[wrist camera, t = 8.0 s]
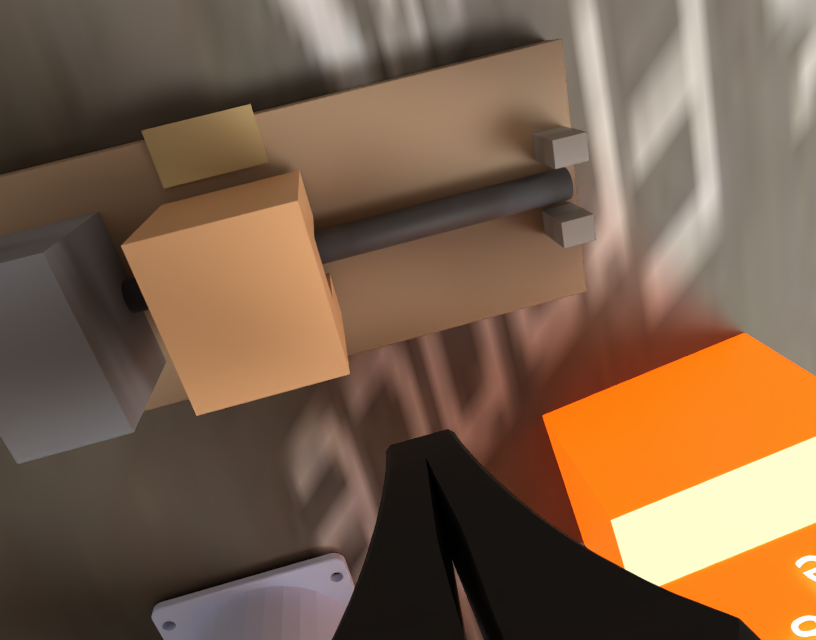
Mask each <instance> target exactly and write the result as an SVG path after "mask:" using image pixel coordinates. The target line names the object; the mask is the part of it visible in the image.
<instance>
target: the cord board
mask: <svg viewBox="0 0 816 640" xmlns="http://www.w3.org/2000/svg"><path fill="white" fill-rule="evenodd" d="M141 132H142V134H143V137H144V140H139V141H135V142H131V143H127V144H123V145H119V146H115V147H111V148H107V149H103V150H99V151H95V152H91V153H87V154H83V155H79V156H74V157H70V158H66V159H62V160H58V161H54V162H50V163H46V164H42V165H38V166H34V167H30V168H26V169H22V170H18V171H13V172H9V173H5V174H1V175H0V436H1V438H2V440H3V441H4V443H5V444H6V446H7V448H8V449H9V451H10V452H11V454H12V456H13V457H14V459H15V460H16V462H17V464H20V463H23V462H27V461H31V460H34V459H38V458H42V457H45V456H49V455H53V454H56V453H60V452H64V451H67V450H71V449H75V448H78V447H82V446H86V445H89V444H93V443H97V442H100V441H104V440H108V439H111V438H115V437H119V436H122V435H126V434H130V433H133V432H134V431H135V429H136V426H137V424H138V422H139V420H140V418H141V416H142V413H143V411H147V410H150V409H154V408H158V407H162V406H165V405H169V404H173V403H176V402H180V401H184V400H187V399H189V398H188V395H187V393H186V391H185V389H184V386H183V384H182V382H181V380H180V377H179V375H178V373H177V371H176V368H175V366H174V364H173V362H172V360H171V357H170V355H169V353H168V351H167V348H166V346H165V344H164V342H163V339H162V337H161V335H160V333H159V330H158V328H157V326H156V324H155V321H154V319H153V317H152V315H151V312H150V310H149V308H148V306H147V303H146V301H145V299H144V297H143V294H142V292H141V290H140V288H139V285H138V283H137V281H136V279H135V276H134V274H133V272H132V270H131V267H130V265H129V263H128V261H127V258H126V256H125V254H124V252H123V250H122V247H121V245H122V244H123V243H124V242H125V241H126V240H127V239H128V238H129V237H130V236H131V235H132V234H133V233H134V232H135V231H136V230H137V229H138V228H139V227H140V226H141V225H142V224H143V223H144V222H145V221H146V220H147V219H148V218H149V217H150V216H151V215H152V214H153V213H154V212H155V211H156V210H157V209H158V208H159V207H160V206H161V205H163V204H167V203H171V202H175V201H179V200H183V199H187V198H191V197H195V196H199V195H203V194H207V193H211V192H215V191H219V190H223V189H226V188H230V187H234V186H238V185H242V184H246V183H250V182H254V181H258V180H262V179H266V178H270V177H274V176H278V175H282V174H286V173H290V172H294V171H298V170H300V174H301V177H302V180H303V184H304V187H305V191H306V194H307V197H308V201H309V204H310V208H311V211H312V214H313V223H314V239H315V242H316V245H317V249H318V252H319V255H320V259H321V262H322V265H323V269H324V272H325V274H326V273H330V276H331V279H332V282H333V286H334V289H335V293H336V296H337V299H338V303H339V306H340V310H341V313H342V320H343V327H344V334H345V341H346V348H347V355H348V356H350V355H354V354H357V353H361V352H365V351H368V350H372V349H376V348H379V347H383V346H387V345H391V344H394V343H398V342H402V341H405V340H409V339H413V338H416V337H420V336H424V335H427V334H431V333H435V332H439V331H442V330H446V329H450V328H453V327H457V326H461V325H464V324H468V323H472V322H476V321H479V320H483V319H487V318H490V317H494V316H498V315H501V314H505V313H509V312H512V311H516V310H520V309H524V308H527V307H531V306H535V305H538V304H542V303H546V302H549V301H553V300H557V299H560V298H564V297H568V296H572V295H575V294H579V293H583V292H586V281H585V270H584V260H583V250H582V243H586V242H590V241H593V240H596V235H595V223H594V214H592V213H590V212H588V211H586V210H585V209H583V208H581V207H579V206H578V199H577V188H576V178H575V168H574V164H578V163H581V162H585V161H589V154H588V142H587V132H585V131H581V130H577V129H573V128H571V127H570V117H569V106H568V96H567V86H566V76H565V65H564V55H563V45H562V39H557V40H546V41H542V42H538V43H534V44H530V45H526V46H522V47H517V48H513V49H509V50H505V51H501V52H497V53H493V54H489V55H485V56H481V57H477V58H473V59H469V60H465V61H461V62H456V63H452V64H448V65H444V66H440V67H436V68H432V69H428V70H424V71H420V72H416V73H412V74H408V75H404V76H400V77H396V78H391V79H387V80H383V81H379V82H375V83H371V84H367V85H363V86H359V87H355V88H351V89H347V90H343V91H339V92H335V93H331V94H326V95H322V96H318V97H314V98H310V99H306V100H302V101H298V102H294V103H290V104H286V105H282V106H278V107H274V108H270V109H265V110H261V111H257V112H253V110H252V107H251V104H247V105H243V106H239V107H235V108H231V109H227V110H223V111H219V112H215V113H211V114H206V115H202V116H198V117H194V118H190V119H186V120H182V121H178V122H174V123H170V124H166V125H162V126H158V127H153V128H149V129H145V130H142V131H141Z"/></svg>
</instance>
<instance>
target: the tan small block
mask: <svg viewBox="0 0 816 640" xmlns="http://www.w3.org/2000/svg"><path fill="white" fill-rule="evenodd" d="M121 247H122V250H123V252H124V254H125V256H126V258H127V261H128V263H129V265H130V267H131V270H132V272H133V274H134V276H135V279H136V281H137V283H138V285H139V288H140V290H141V292H142V294H143V297H144V299H145V301H146V303H147V306H148V308H149V310H150V312H151V315H152V317H153V319H154V321H155V324H156V326H157V328H158V330H159V333H160V335H161V337H162V339H163V342H164V344H165V346H166V348H167V351H168V353H169V355H170V357H171V360H172V362H173V364H174V366H175V368H176V371H177V373H178V375H179V377H180V380H181V382H182V384H183V386H184V389H185V391H186V393H187V395H188V398H189V400H190V402H191V404H192V407H193V409H194V411H195V413H196V416H198V415H202V414H205V413H209V412H213V411H216V410H220V409H224V408H227V407H231V406H235V405H238V404H242V403H246V402H249V401H253V400H257V399H260V398H264V397H268V396H271V395H275V394H279V393H282V392H286V391H290V390H293V389H297V388H301V387H304V386H308V385H312V384H315V383H319V382H323V381H326V380H330V379H334V378H338V377H341V376H345V375H349V374H350V369H349V362H348V355H347V348H346V341H345V334H344V327H343V320H342V313H341V310H340V306H339V303H338V299H337V296H336V293H335V289H334V286H333V282H332V279H331V276H330V273H326V274H325V272H324V269H323V265H322V262H321V259H320V255H319V252H318V249H317V245H316V242H315V239H314V223H313V214H312V211H311V208H310V204H309V201H308V197H307V194H306V191H305V187H304V184H303V180H302V177H301V174H300V170H298V171H294V172H290V173H286V174H282V175H278V176H274V177H270V178H266V179H262V180H258V181H254V182H250V183H246V184H242V185H238V186H234V187H230V188H226V189H223V190H219V191H215V192H211V193H207V194H203V195H199V196H195V197H191V198H187V199H183V200H179V201H175V202H171V203H167V204H163V205H161V206H160V207H159V208H158V209H157V210H156V211H155V212H154V213H153V214H152V215H151V216H150V217H149V218H148V219H147V220H146V221H145V222H144V223H143V224H142V225H141V226H140V227H139V228H138V229H137V230H136V231H135V232H134V233H133V234H132V235H131V236H130V237H129V238H128V239H127V240H126V241H125V242H124V243H123V244H122V245H121Z"/></svg>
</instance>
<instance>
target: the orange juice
mask: <svg viewBox="0 0 816 640" xmlns="http://www.w3.org/2000/svg"><path fill="white" fill-rule="evenodd" d="M542 416H543V419H544V422H545V425H546V429H547V432H548V435H549V438H550V441H551V444H552V447H553V450H554V453H555V456H556V459H557V462H558V465H559V468H560V471H561V474H562V477H563V480H564V483H565V486H566V489H567V492H568V495H569V499H570V502H571V505H572V508H573V511H574V514H575V517H576V520H577V523H578V526H579V529H580V532H581V535H582V538H583V541H584V544H585V545H586V547H587V548H588V549H590V550H591V551H593V552H595V553H596V554H598V555H600V556H602V557H603V558H605V559H607V560H609V561H611V562H613V563H615V564H617V565H618V566H620V567H622V568H624V569H626V570H628V571H630V572H631V573H633V574H635V575H637V576H639V577H641V578H643V579H645V580H647V581H649V582H651V583H653V584H655V585H658V586H660V587H662V588H664V589H666V590H668V591H671V592H673V593H675V594H678V595H680V596H683V597H685V598H688V599H691V600H693V601H696V602H699V603H701V604H704V605H706V606H709V607H712V608H714V609H717V610H720V611H722V612H725V613H727V614H730V615H733V616H735V617H738V618H740V619H741V620H742V621H743V622H744V623H745V624H746V625H747V626H748V627H749V628H750V629H751V630H752V631H753V632H754V633H755V634H756V635H757V636H758V637H759V638H760V639H761V640H816V377H815V376H814V375H812V374H810V373H809V372H807V371H806V370H804V369H802V368H801V367H799V366H798V365H796V364H794V363H793V362H791V361H789V360H788V359H786V358H785V357H783V356H781V355H780V354H778V353H777V352H775V351H773V350H772V349H770V348H769V347H767V346H765V345H764V344H762V343H760V342H759V341H757V340H756V339H754V338H752V337H751V336H749V335H748V334H746V333H742V334H740V335H737V336H735V337H733V338H730V339H728V340H725V341H723V342H720V343H718V344H715V345H713V346H711V347H708V348H706V349H703V350H701V351H698V352H696V353H694V354H691V355H689V356H686V357H684V358H681V359H679V360H676V361H674V362H672V363H669V364H667V365H664V366H662V367H659V368H657V369H654V370H652V371H650V372H647V373H645V374H642V375H640V376H637V377H635V378H632V379H630V380H628V381H625V382H623V383H620V384H618V385H615V386H613V387H611V388H608V389H606V390H603V391H601V392H598V393H596V394H593V395H591V396H589V397H586V398H584V399H581V400H579V401H576V402H574V403H571V404H569V405H567V406H564V407H562V408H559V409H557V410H554V411H552V412H550V413H547V414H545V415H542Z"/></svg>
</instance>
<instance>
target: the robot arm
mask: <svg viewBox="0 0 816 640" xmlns="http://www.w3.org/2000/svg"><path fill="white" fill-rule="evenodd" d="M452 560H453V563H454V565H455V568H456V571H457V573H458V576H459V578H460V581H461V583H462V586H463V588H464V591H465V593H466V596H467V598H468V601H469V603H470V606H471V608H472V611H473V613H474V616H475V618H476V621H477V623H478V626H479V628H480V631H481V633H482V636H483V638H484V640H761V639H760V638H759V637H758V636H757V635H756V634H755V633H754V632H753V631H752V630H751V629H750V628H749V627H748V626H747V625H746V624H745V623H744V622H743V621H742V620H741V619H740V618H738V617H735V616H733V615H730V614H727V613H725V612H722V611H720V610H717V609H714V608H712V607H709V606H706V605H704V604H701V603H699V602H696V601H693V600H691V599H688V598H685V597H683V596H680V595H678V594H675V593H673V592H671V591H668V590H666V589H664V588H662V587H660V586H658V585H655V584H653V583H651V582H649V581H647V580H645V579H643V578H641V577H639V576H637V575H635V574H633V573H631V572H630V571H628V570H626V569H624V568H622V567H620V566H618V565H617V564H615V563H613V562H611V561H609V560H607V559H605V558H603V557H602V556H600V555H598V554H596V553H595V552H593V551H591V550H590V549H588V548H586V547H585V546H583V545H582V544H580V543H578V542H577V541H575V540H574V539H572V538H571V537H569V536H568V535H566V534H565V533H563V532H562V531H560V530H559V529H557V528H556V527H554V526H553V525H551V524H550V523H549V522H547V521H546V520H545V519H543V518H542V517H541V516H539V515H538V514H537V513H535V512H534V511H533V510H532V509H530V508H529V507H528V506H527V505H525V504H524V503H523V502H522V501H520V500H519V499H518V498H517V497H516V496H514V495H513V494H512V493H511V492H510V491H509V490H507V489H506V488H505V487H504V486H503V485H502V484H501V483H500V482H499V481H498V480H497V479H496V478H495V477H493V476H492V475H491V474H490V473H489V472H488V471H487V470H486V469H485V468H484V467H483V466H482V465H481V464H480V463H479V462H478V461H477V460H476V458H475V457H474V456H473V455H472V454H471V453H470V452H469V451H468V450H467V449H466V447H465V446H464V445H463V444H462V442H461V441H460V440H459V439H458V437H457V436H456V434H455V433H454V432H453V431H451V430H449V429H447V430H443V431H439V432H436V433H432V434H429V435H425V436H422V437H418V438H414V439H411V440H407V441H404V442H400V443H397V444H393V445H390V446H389V448H388V449H387V451H386V472H385V480H384V486H383V493H382V497H381V502H380V507H379V511H378V516H377V520H376V524H375V528H374V531H373V535H372V538H371V542H370V545H369V548H368V552H367V555H366V558H365V561H364V564H363V567H362V570H361V573H360V575H359V578H358V581H357V583H356V586H355V585H354V583H353V580H352V577H351V574H350V572H349V569H348V566H347V563H346V561H345V558H344V557H343V556H342V555H341V554H339V553H330V554H326V555H323V556H319V557H316V558H312V559H309V560H305V561H302V562H298V563H295V564H292V565H288V566H285V567H281V568H278V569H274V570H271V571H267V572H264V573H260V574H257V575H253V576H250V577H246V578H243V579H240V580H236V581H233V582H229V583H226V584H222V585H219V586H215V587H212V588H208V589H205V590H201V591H198V592H194V593H191V594H188V595H184V596H181V597H177V598H174V599H170V600H167V601H163V602H160V603H158V604H157V605H156V606H155V607H154V609H153V613H152V616H151V617H152V621H153V622H154V624H155V626H156V627H157V629H158V631H159V632H160V634H161V636H162V638H163V639H164V640H467V639H466V633H465V628H464V622H463V617H462V612H461V606H460V601H459V595H458V590H457V585H456V579H455V574H454V569H453V563H452ZM336 572H339V574H335V575H334V574H333V573H336ZM167 621H171V622H167Z"/></svg>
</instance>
